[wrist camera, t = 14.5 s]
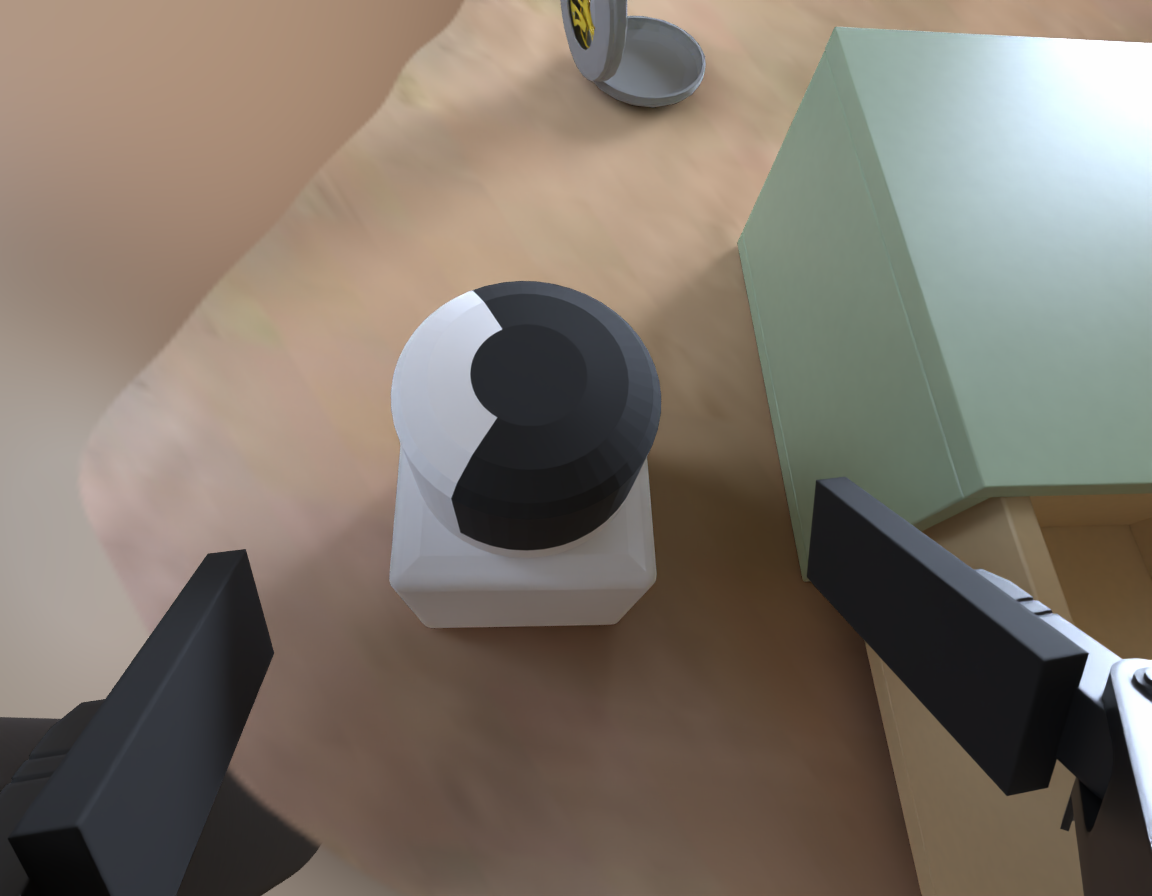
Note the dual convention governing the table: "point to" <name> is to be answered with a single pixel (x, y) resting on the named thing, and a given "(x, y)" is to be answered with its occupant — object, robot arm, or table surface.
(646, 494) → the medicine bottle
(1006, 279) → the cabinet
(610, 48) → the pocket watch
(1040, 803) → the drawer
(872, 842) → the table surface
